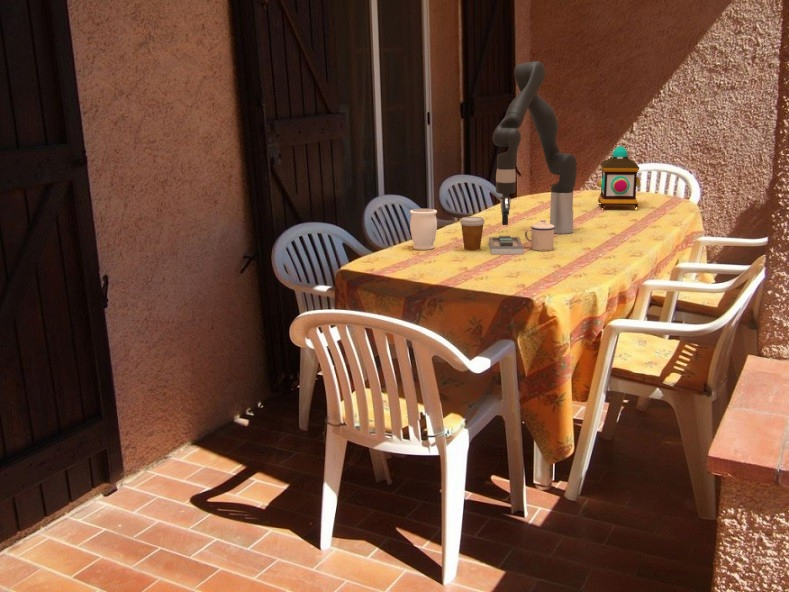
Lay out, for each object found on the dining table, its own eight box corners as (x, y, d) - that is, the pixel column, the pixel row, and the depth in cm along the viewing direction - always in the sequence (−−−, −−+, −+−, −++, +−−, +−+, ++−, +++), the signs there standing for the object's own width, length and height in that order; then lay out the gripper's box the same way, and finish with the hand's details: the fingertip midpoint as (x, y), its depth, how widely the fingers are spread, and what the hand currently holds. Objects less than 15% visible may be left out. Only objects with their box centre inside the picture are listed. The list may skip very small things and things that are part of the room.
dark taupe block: (512, 244, 339) (512, 240, 339) (512, 246, 336) (512, 242, 336) (500, 244, 339) (500, 240, 339) (501, 246, 336) (501, 242, 336)
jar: (418, 251, 341) (418, 213, 337) (405, 247, 350) (405, 209, 346) (441, 248, 346) (441, 211, 342) (428, 244, 354) (428, 207, 350)
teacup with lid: (557, 247, 344) (558, 218, 341) (549, 252, 337) (550, 222, 334) (528, 244, 350) (529, 216, 347) (519, 249, 343) (520, 219, 340)
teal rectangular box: (511, 242, 344) (511, 238, 344) (511, 243, 341) (511, 239, 341) (499, 242, 344) (499, 238, 344) (500, 244, 341) (500, 239, 341)
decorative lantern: (595, 204, 443) (597, 144, 435) (635, 204, 440) (639, 144, 432) (598, 211, 424) (601, 148, 416) (640, 211, 421) (644, 148, 413)
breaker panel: (518, 244, 352) (519, 236, 351) (523, 254, 334) (523, 246, 333) (488, 244, 352) (488, 237, 351) (491, 254, 335) (491, 246, 334)
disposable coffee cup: (484, 246, 349) (484, 216, 346) (484, 251, 340) (484, 220, 337) (460, 246, 350) (460, 216, 347) (459, 251, 341) (459, 220, 338)
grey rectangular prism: (510, 239, 349) (510, 235, 348) (510, 241, 346) (510, 237, 345) (498, 239, 349) (498, 235, 349) (499, 241, 346) (499, 237, 346)
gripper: (517, 182, 332) (516, 228, 337) (514, 178, 345) (513, 221, 350) (497, 182, 333) (496, 228, 337) (495, 178, 346) (494, 221, 350)
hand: (504, 224), depth 343 cm, fingers closed
